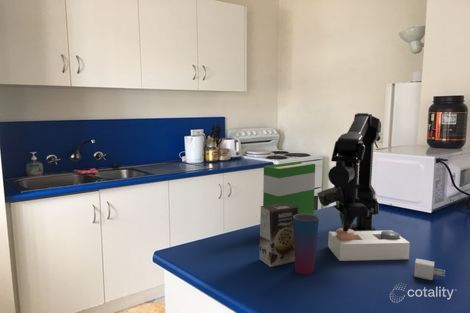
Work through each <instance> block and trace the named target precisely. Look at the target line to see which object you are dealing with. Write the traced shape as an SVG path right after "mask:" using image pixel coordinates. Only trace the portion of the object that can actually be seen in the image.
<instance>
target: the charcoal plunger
mask: <svg viewBox="0 0 470 313" xmlns="http://www.w3.org/2000/svg"><path fill="white" fill-rule="evenodd" d="M381 231H382V232H381V240H382V239H400V238H399V237H400V236H401V234H400V233H399V232H396V231H394V230H392V231H391V230H381ZM393 231H394V232H393Z"/></svg>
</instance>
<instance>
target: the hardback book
mask: <svg viewBox="0 0 470 313" xmlns="http://www.w3.org/2000/svg"><path fill="white" fill-rule="evenodd" d="M315 182H316V164H315V163H310V164H309V163H308V164H304V163H303V162H302V161H301V160H300V161H292V162H285V163H278V164H271V165H264V166H263V190H262V192H263V195H262V196H263V197H262V198H263V199H262V201H263V202H262V206H266V205H273V204H281V203H287V204H290V205H293V206H296V207H298V214H313V215H315V190H316V189H315Z"/></svg>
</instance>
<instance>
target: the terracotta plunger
mask: <svg viewBox="0 0 470 313" xmlns="http://www.w3.org/2000/svg"><path fill="white" fill-rule="evenodd" d="M354 231H355V230H354V229H351V228H349V230H348V231H344V230H343V227H339V228H336V231H335V232H336V236H337V238H338V239H339V240H354Z"/></svg>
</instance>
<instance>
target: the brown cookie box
mask: <svg viewBox="0 0 470 313" xmlns="http://www.w3.org/2000/svg"><path fill="white" fill-rule="evenodd" d="M296 214H298V207H296V206H293V205H290V204H287V203H281V204H273V205H266V206H263V205H260V216H259V217H260V218H259V219H260V220H259V222H260V226H259V260H260V261H262V262H263V263H264V264H266V266H269V267H270V268H272V267H277V266H281V265H285V264H290V263H295V254H294V228H293V216H294V215H296Z"/></svg>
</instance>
